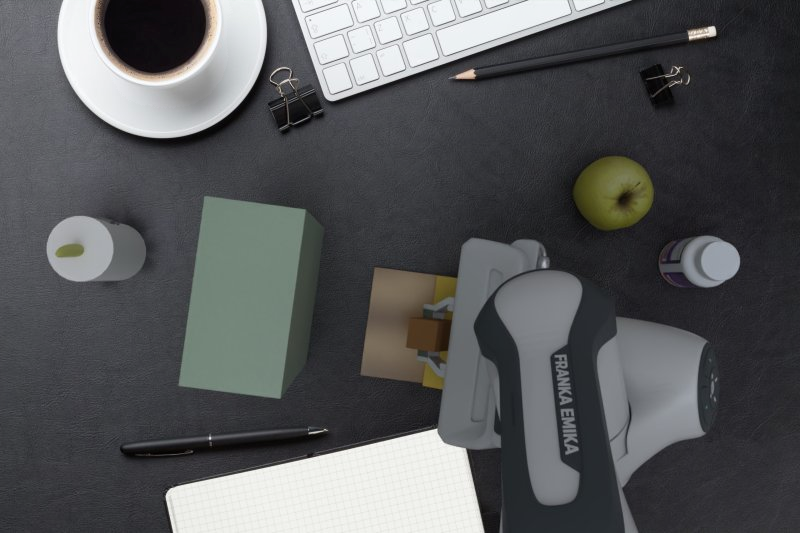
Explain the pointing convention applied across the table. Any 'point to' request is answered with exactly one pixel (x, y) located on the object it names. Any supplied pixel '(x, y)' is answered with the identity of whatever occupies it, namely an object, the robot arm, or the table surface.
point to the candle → (95, 249)
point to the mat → (395, 323)
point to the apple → (613, 193)
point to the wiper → (433, 331)
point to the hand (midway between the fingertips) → (423, 332)
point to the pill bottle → (698, 261)
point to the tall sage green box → (251, 297)
